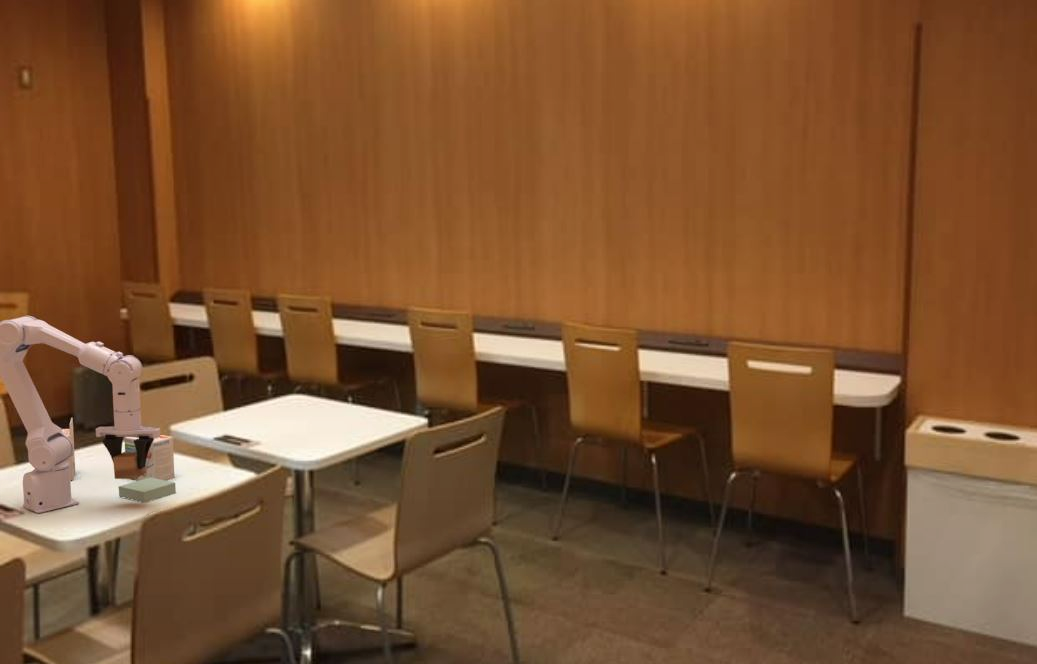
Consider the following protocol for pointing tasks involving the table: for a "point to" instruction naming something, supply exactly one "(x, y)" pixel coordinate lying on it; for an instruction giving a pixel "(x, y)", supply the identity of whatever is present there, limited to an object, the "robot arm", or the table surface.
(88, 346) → the robot arm
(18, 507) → the table surface
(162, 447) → the light bulb box
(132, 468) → the walnut cube
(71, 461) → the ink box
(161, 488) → the sage green box
